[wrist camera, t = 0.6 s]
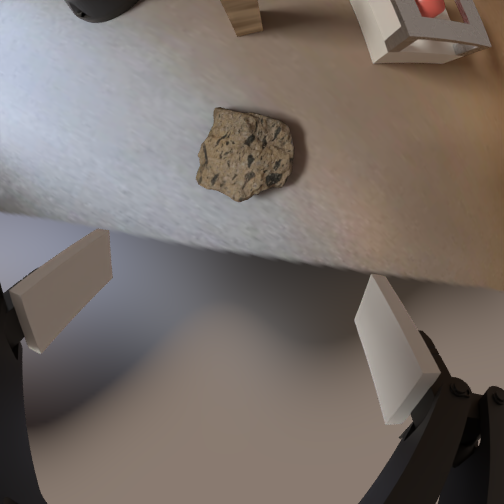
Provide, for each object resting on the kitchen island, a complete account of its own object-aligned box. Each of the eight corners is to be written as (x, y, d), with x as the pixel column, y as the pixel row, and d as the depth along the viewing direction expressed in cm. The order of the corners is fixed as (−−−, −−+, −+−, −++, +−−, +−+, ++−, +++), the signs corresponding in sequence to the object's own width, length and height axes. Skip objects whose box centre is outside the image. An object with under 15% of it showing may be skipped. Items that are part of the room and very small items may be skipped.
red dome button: (388, 5, 22) (409, -17, 16) (413, 7, 22) (437, -13, 15) (398, 30, 24) (422, 10, 17) (423, 31, 23) (450, 15, 16)
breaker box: (346, -7, 25) (355, -26, 20) (417, -3, 23) (432, -18, 17) (372, 63, 29) (387, 52, 24) (442, 63, 27) (463, 56, 21)
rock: (275, 207, 38) (274, 216, 34) (194, 180, 38) (184, 185, 34) (304, 130, 34) (307, 129, 30) (218, 103, 34) (210, 99, 30)
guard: (355, -26, 20) (367, -51, 14) (432, -18, 17) (453, -35, 11) (387, 52, 24) (409, 36, 18) (463, 56, 21) (491, 47, 15)
